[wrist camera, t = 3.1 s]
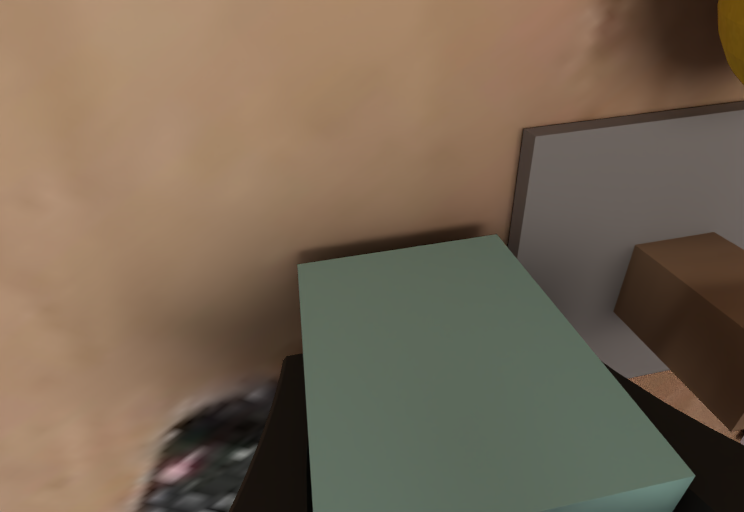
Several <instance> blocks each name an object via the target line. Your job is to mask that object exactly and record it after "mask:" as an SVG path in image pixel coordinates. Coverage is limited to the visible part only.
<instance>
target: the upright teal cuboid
mask: <svg viewBox="0 0 744 512" xmlns="http://www.w3.org/2000/svg"><path fill="white" fill-rule="evenodd" d="M297 266H298V281H299V297H300V313H301V329H302V345H303V360H304V376H305V392H306V408H307V424H308V439H309V455H310V471H311V487H312V503H313V512H673V510H674V508H675V507H676V505H677V504H678V502H679V501H680V499H681V498H682V496H683V495H684V493H685V491H686V490H687V488H688V487H689V485H690V484H691V482H692V481H693V479H694V477H695V474H694V473H693V472H692V471H691V470H690V468H689V467H688V466H687V465H686V464H685V462H684V461H683V460H682V459H681V457H680V456H679V455H678V454H677V453H676V451H675V450H674V449H673V448H672V447H671V445H670V444H669V443H668V442H667V440H666V439H665V438H664V437H663V436H662V434H661V433H660V432H659V431H658V430H657V428H656V427H655V426H654V425H653V423H652V422H651V421H650V420H649V419H648V417H647V416H646V415H645V414H644V413H643V411H642V410H641V409H640V408H639V406H638V405H637V404H636V403H635V402H634V400H633V399H632V398H631V397H630V396H629V394H628V393H627V392H626V391H625V389H624V388H623V387H622V386H621V385H620V383H619V382H618V381H617V380H616V379H615V377H614V376H613V375H612V374H611V372H610V371H609V370H608V369H607V368H606V366H605V365H604V364H603V363H602V362H601V360H600V359H599V358H598V357H597V355H596V354H595V353H594V352H593V351H592V349H591V348H590V347H589V346H588V345H587V343H586V342H585V341H584V340H583V338H582V337H581V336H580V335H579V334H578V332H577V331H576V330H575V329H574V327H573V326H572V325H571V324H570V323H569V321H568V320H567V319H566V318H565V317H564V315H563V314H562V313H561V312H560V310H559V309H558V308H557V307H556V306H555V304H554V303H553V302H552V301H551V300H550V298H549V297H548V296H547V295H546V293H545V292H544V291H543V290H542V289H541V287H540V286H539V285H538V284H537V283H536V281H535V280H534V279H533V278H532V276H531V275H530V274H529V273H528V272H527V270H526V269H525V268H524V267H523V266H522V264H521V263H520V262H519V261H518V259H517V258H516V257H515V256H514V255H513V253H512V252H511V251H510V250H509V249H508V247H507V246H506V245H505V244H504V242H503V241H502V240H501V239H500V238H499V236H498V235H497V234H495V235H489V236H482V237H476V238H469V239H462V240H456V241H449V242H443V243H436V244H429V245H423V246H416V247H409V248H403V249H396V250H390V251H383V252H376V253H370V254H363V255H357V256H350V257H343V258H337V259H330V260H324V261H317V262H310V263H304V264H297Z"/></svg>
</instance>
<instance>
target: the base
mask: <svg viewBox="0 0 744 512" xmlns="http://www.w3.org/2000/svg"><path fill="white" fill-rule="evenodd" d="M711 232H715V233H717V234H718V235H720V236H722V237H723V238H725V239H727V240H728V241H730V242H732V243H733V244H735V245H737V246H738V247H740V248H742V249H743V250H744V101H742V102H734V103H726V104H718V105H710V106H702V107H694V108H686V109H678V110H670V111H662V112H654V113H646V114H639V115H631V116H623V117H615V118H607V119H599V120H591V121H583V122H575V123H567V124H559V125H551V126H543V127H535V128H527V129H524V131H523V139H522V146H521V154H520V161H519V169H518V176H517V183H516V191H515V198H514V206H513V213H512V221H511V228H510V236H509V243H508V249H509V250H510V251H511V252H512V253H513V255H514V256H515V257H516V258H517V259H518V261H519V262H520V263H521V264H522V266H523V267H524V268H525V269H526V270H527V272H528V273H529V274H530V275H531V276H532V278H533V279H534V280H535V281H536V283H537V284H538V285H539V286H540V287H541V289H542V290H543V291H544V292H545V293H546V295H547V296H548V297H549V298H550V300H551V301H552V302H553V303H554V304H555V306H556V307H557V308H558V309H559V310H560V312H561V313H562V314H563V315H564V317H565V318H566V319H567V320H568V321H569V323H570V324H571V325H572V326H573V327H574V329H575V330H576V331H577V332H578V334H579V335H580V336H581V337H582V338H583V340H584V341H585V342H586V343H587V345H588V346H589V347H590V348H591V349H592V351H593V352H594V353H595V354H596V355H597V357H598V358H599V359H600V360H601V361H602V362H603V363H605V364H606V365H608V366H609V367H610V368H612V369H613V370H615V371H616V372H618V373H619V374H621V375H622V376H624V377H625V378H632V377H637V376H642V375H647V374H652V373H657V372H662V371H667V370H670V369H669V368H668V367H667V366H666V365H665V364H664V363H663V362H662V361H661V360H660V359H659V358H658V357H657V356H656V355H655V354H654V353H653V352H652V351H651V350H650V349H649V348H648V347H647V346H646V345H645V344H644V342H643V341H642V340H641V339H640V338H639V337H638V336H637V335H636V334H635V333H634V332H633V331H632V330H631V329H630V328H629V327H628V326H627V325H626V324H625V323H624V322H623V321H622V320H621V319H620V318H619V317H618V316H617V315H616V314H615V313H614V312H613V311H614V308H615V305H616V302H617V299H618V296H619V293H620V290H621V287H622V284H623V281H624V277H625V274H626V271H627V268H628V265H629V262H630V259H631V256H632V253H633V250H634V247H635V245H637V244H644V243H650V242H656V241H662V240H668V239H674V238H680V237H686V236H693V235H699V234H705V233H711Z"/></svg>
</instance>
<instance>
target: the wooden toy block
mask: <svg viewBox="0 0 744 512" xmlns="http://www.w3.org/2000/svg"><path fill="white" fill-rule="evenodd" d="M613 312H614V313H615V314H616V315H617V316H618V317H619V318H620V319H621V320H622V321H623V322H624V323H625V324H626V325H627V326H628V327H629V328H630V329H631V330H632V331H633V332H634V333H635V334H636V335H637V336H638V337H639V338H640V339H641V340H642V341H643V342H644V344H645V345H646V346H647V347H648V348H649V349H650V350H651V351H652V352H653V353H654V354H655V355H656V356H657V357H658V358H659V359H660V360H661V361H662V362H663V363H664V364H665V365H666V366H667V367H668V368H669V369H670V370H671V371H672V372H673V373H674V374H675V375H676V376H677V377H678V378H679V379H680V380H681V381H682V382H683V383H684V384H685V385H686V386H687V387H688V388H689V389H690V390H691V391H692V392H693V393H694V394H695V395H696V396H697V397H698V398H699V400H700V401H701V402H702V403H703V404H704V405H705V406H706V407H707V408H708V409H709V410H710V411H711V412H712V413H713V414H714V415H715V416H716V417H717V418H718V419H719V420H720V421H721V422H722V423H723V424H724V425H725V426H726V427H727V428H728V429H729V430H730V431H731V432H733V431H737V430H742V429H744V250H743V249H742V248H740V247H738V246H737V245H735V244H733V243H732V242H730V241H728V240H727V239H725V238H723V237H722V236H720V235H718V234H717V233H715V232H711V233H705V234H699V235H693V236H686V237H680V238H674V239H668V240H662V241H656V242H650V243H644V244H637V245H635V247H634V250H633V253H632V256H631V259H630V262H629V265H628V268H627V271H626V274H625V277H624V281H623V284H622V287H621V290H620V293H619V296H618V299H617V302H616V305H615V308H614V311H613Z"/></svg>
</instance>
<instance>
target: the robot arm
mask: <svg viewBox="0 0 744 512" xmlns="http://www.w3.org/2000/svg"><path fill="white" fill-rule="evenodd" d="M601 362H602V361H601ZM602 363H603V362H602ZM603 364H604V365H605V366H606V368H607V369H608V370H609V371H610V372H611V374H612V375H613V376H614V377H615V379H616V380H617V381H618V382H619V383H620V385H621V386H622V387H623V388H624V389H625V391H626V392H627V393H628V394H629V396H630V397H631V398H632V399H633V400H634V402H635V403H636V404H637V405H638V406H639V408H640V409H641V410H642V411H643V413H644V414H645V415H646V416H647V417H648V419H649V420H650V421H651V422H652V423H653V425H654V426H655V427H656V428H657V430H658V431H659V432H660V433H661V434H662V436H663V437H664V438H665V439H666V440H667V442H668V443H669V444H670V445H671V447H672V448H673V449H674V450H675V451H676V453H677V454H678V455H679V456H680V457H681V459H682V460H683V461H684V462H685V464H686V465H687V466H688V467H689V468H690V470H691V471H692V472H693V473H694V474H695V477H694V479H693V481H692V482H691V484H690V485H689V487H688V488H687V490H686V491H685V493H684V495H683V496H682V498H681V499H680V501H679V502H678V504H677V505H676V507H675V508H674V510H673V512H744V436H743V438H742V439H741V441H740V443H738V442H736V441H734V440H732V439H730V438H728V437H726V436H724V435H723V434H721V433H719V432H717V431H715V430H713V429H711V428H709V427H707V426H705V425H704V424H702V423H700V422H698V421H696V420H695V419H693V418H691V417H689V416H688V415H686V414H684V413H682V412H680V411H679V410H677V409H675V408H673V407H672V406H670V405H668V404H667V403H665V402H663V401H662V400H660V399H658V398H657V397H655V396H653V395H652V394H650V393H649V392H647V391H646V390H644V389H642V388H641V387H639V386H638V385H636V384H635V383H633V382H631V381H630V380H628V379H627V378H625V377H624V376H622V375H621V374H619V373H618V372H616V371H615V370H613V369H612V368H610V367H609V366H608V365H606V364H605V363H603ZM229 512H313V503H312V487H311V471H310V455H309V439H308V424H307V408H306V392H305V376H304V360H303V354H297V355H291V356H287V357H286V358H285V359H284V360H283V363H282V369H281V374H280V378H279V382H278V386H277V390H276V393H275V397H274V400H273V403H272V407H271V410H270V413H269V416H268V419H267V421H266V424H265V427H264V430H263V433H262V436H261V439H260V441H259V444H258V446H257V449H256V451H255V454H254V456H253V459H252V461H251V463H250V466H249V468H248V471H247V473H246V476H245V478H244V480H243V482H242V485H241V487H240V489H239V491H238V494H237V496H236V498H235V500H234V502H233V504H232V506H231V508H230V510H229Z"/></svg>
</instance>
